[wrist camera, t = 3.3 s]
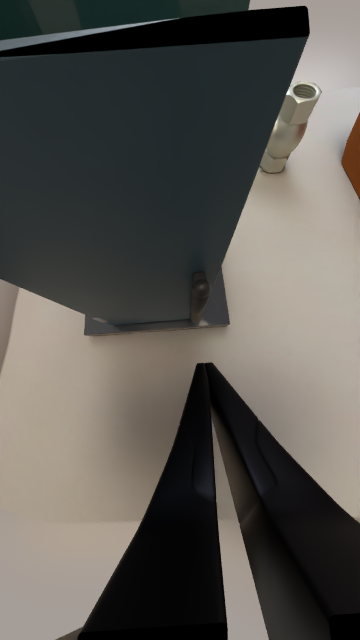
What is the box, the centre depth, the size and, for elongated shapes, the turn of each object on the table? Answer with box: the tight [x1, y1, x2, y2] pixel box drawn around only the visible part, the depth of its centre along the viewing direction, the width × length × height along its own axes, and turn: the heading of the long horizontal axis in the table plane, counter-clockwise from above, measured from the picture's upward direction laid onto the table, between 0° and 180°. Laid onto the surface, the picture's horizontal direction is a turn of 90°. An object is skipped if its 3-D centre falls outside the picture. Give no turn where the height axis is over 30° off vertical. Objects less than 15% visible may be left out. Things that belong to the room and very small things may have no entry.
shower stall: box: [0, 0, 250, 336], centre depth 12 cm, size 16×16×15 cm
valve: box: [260, 81, 322, 173], centre depth 20 cm, size 7×7×12 cm
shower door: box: [0, 6, 310, 325], centre depth 9 cm, size 2×10×15 cm, turn 94°
